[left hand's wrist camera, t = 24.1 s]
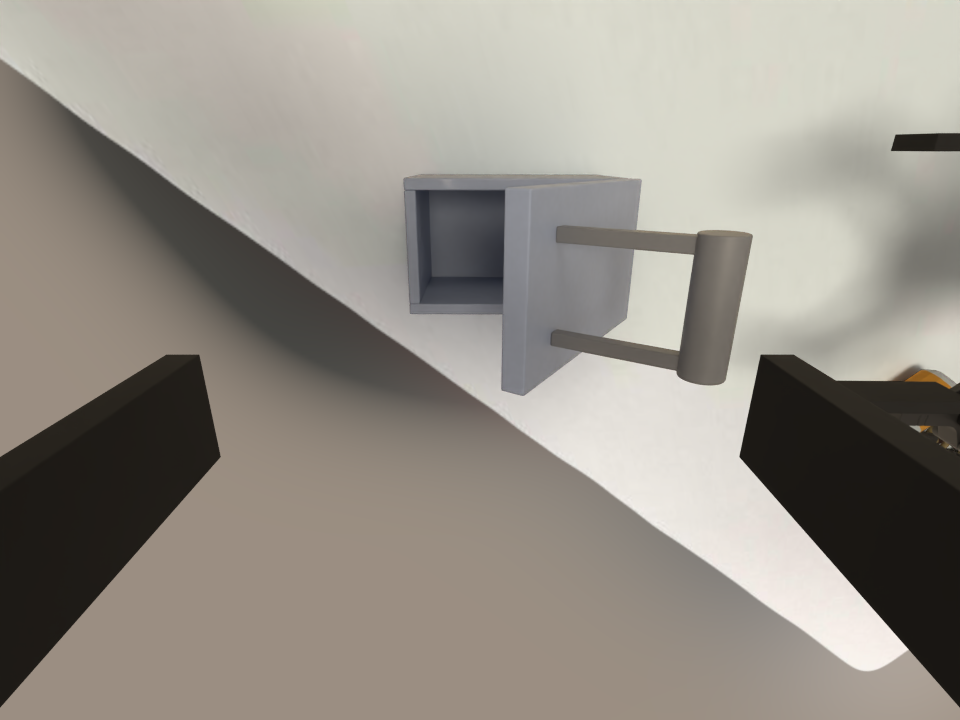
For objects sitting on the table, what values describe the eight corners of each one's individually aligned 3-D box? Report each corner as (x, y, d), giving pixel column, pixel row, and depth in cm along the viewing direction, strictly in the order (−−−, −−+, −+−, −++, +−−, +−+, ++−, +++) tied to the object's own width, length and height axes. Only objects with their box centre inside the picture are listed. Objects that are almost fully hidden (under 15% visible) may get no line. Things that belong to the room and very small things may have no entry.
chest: (424, 283, 45) (409, 314, 36) (420, 174, 42) (403, 178, 33) (588, 283, 45) (615, 314, 36) (596, 174, 42) (629, 178, 33)
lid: (500, 390, 24) (705, 444, 19) (504, 187, 21) (750, 195, 16) (609, 316, 36) (753, 338, 31) (622, 178, 32) (785, 181, 28)
